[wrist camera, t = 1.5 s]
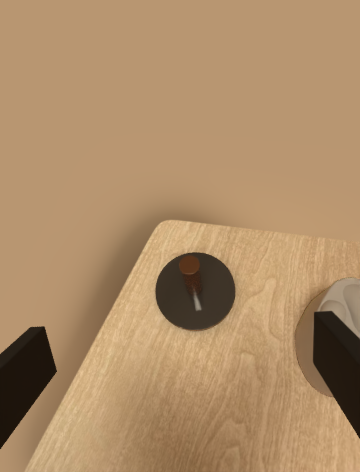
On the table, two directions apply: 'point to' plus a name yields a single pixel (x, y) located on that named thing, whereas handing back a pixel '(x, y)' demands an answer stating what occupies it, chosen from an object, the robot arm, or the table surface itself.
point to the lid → (195, 291)
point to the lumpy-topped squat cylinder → (332, 299)
